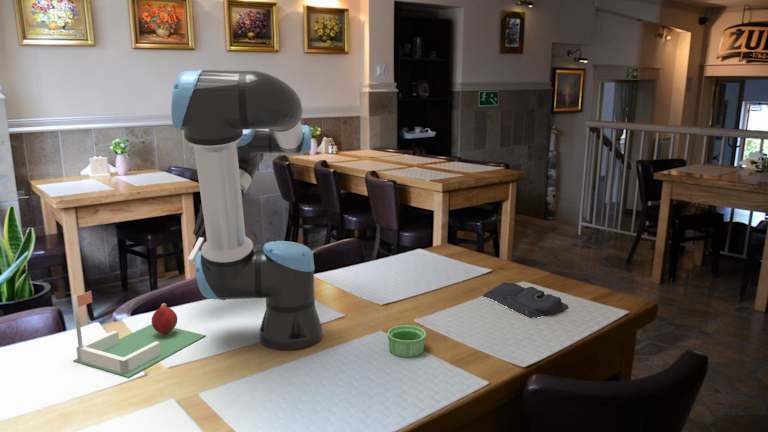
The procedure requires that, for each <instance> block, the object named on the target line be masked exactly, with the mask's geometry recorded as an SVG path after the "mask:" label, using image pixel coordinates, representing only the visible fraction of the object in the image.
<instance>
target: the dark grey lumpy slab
mask: <svg viewBox="0 0 768 432" xmlns="http://www.w3.org/2000/svg"><path fill="white" fill-rule="evenodd" d="M483 296H484V297H487V298H490V299H493V300H494V301H497V302H498V303H500V304H502V305H504V306H507V307H508V308H510V309H513V310H514V311H516V312H518V313H521V314H523V315H525V316H527V317H529V318H528V319H533V318H532V317H535V318H534V319H536V318H537V317H541V316H545V317H550V316H549V315H552V316H555V315H558V314H561V313H562V312H564V311H566V309H568V308H569V306H568V303H567V304H566V303H565V302H562V298H561V297H560V296H556V295H553V294H551V293H547V294H545V292H544V291H543V290H541V289H537V288H536V287H534V286H528V287H523V286H522V285H520V284H518V283H514V282H502V283H500V284H498V285H497V286H495V287H493V288H492V289H490V290H488V291H486V292H485V293H483V295H482V297H483ZM484 297H483V298H484ZM510 309H509V310H510ZM514 311H513V312H514ZM561 311H562V312H561ZM516 312H515V313H516ZM560 312H561V313H560ZM518 313H517V314H518ZM557 313H558V314H557ZM521 314H520V315H521ZM554 314H555V315H554ZM523 315H522V316H523ZM525 316H524V317H525ZM527 317H526V318H527Z"/></svg>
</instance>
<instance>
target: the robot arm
mask: <svg viewBox="0 0 768 432" xmlns="http://www.w3.org/2000/svg"><path fill="white" fill-rule="evenodd" d="M170 108H171V109H170V111H171V112H170V113H171V115H170V116H171V123H172V125H173V128H174V129H175V130H177V131H183V135H184V140H185V142H187V143H188V144H189V145H190V146H192V147H193V150H194V158H195V165H196V172H197V179H198V180H197V181H198V185H199V192H200V200H201V203H200V204H199V212H198V216H197V219H196V222H195V225H194V229H193V231H192V233H193V235H194V236H195V237H196V239H195V241H194V243H193V246H192V251H191V252H190V254H189V256H188V258H187V260H188V261H190V262H191V263H192V264H193V265H195V266H194V267H195V268H194V269H195V277H196V283H197V286H198V290H199V291H200V293H201V295H202V296H203V297H205V298H206V299H208V300H219V301H227V300H248V299H250V300H251V299H265V312H264V315H263V318H262V321H261V324H260V328H259V341H260V342H261V344H262V345H263V346H265V347H268V348H270V349H274V350H281V351H294V350H300V349H304V348H308V347H311V346H313V345H315V344H317V343H319V342H320V341H321V340H322V338H323V324H322V322H321V320H320V318H319V317H320V316H319V314H318V311H317V308H316V305H315V274H314V273H315V269H316V267H315V261H314V253H313V251H312V250H311V249H310V248H309V247H308V246H306V245H305V244H302V243H298V242H295V241H287V240H276V241H269V242H266V243H265V244H264V245H263V247H262V249H258V248H257V249H256V248H254V242H253V241H252V240H251V239H250V238H249V237H247V236H246V229H245V228H246V227H245V217H244V205H243V199H244V197H245V193H246V192H247V190H248V189H249V187H250V184H251V183H252V180H253V178H254V176H255V175H256V173H257V171H258V168H259V167H260V165H261V163H263V161H264V157H265V155H266V154H297V155H300V154H308V153H310V152H311V150H312V130H311V126H310V125H306V124H302V122H301V119H302V116H303V106H302V101H301V99H300V97H299V95H298V94H297V92H296V91H295V90H294V89H293V88H292V87H291V85H289V84H287V82H284V81H283V80H282V79H280V78H278V77H276V76H274V75H271V74H269V73H266V72H263V71H258V70H215V69H214V70H213V69H211V70H209V69H203V68H201V69H199V70H183V71H182V72H180V73H179V74H178V75H177V77H176V78H175V81H174V84H173V88H172V94H171V107H170Z"/></svg>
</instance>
